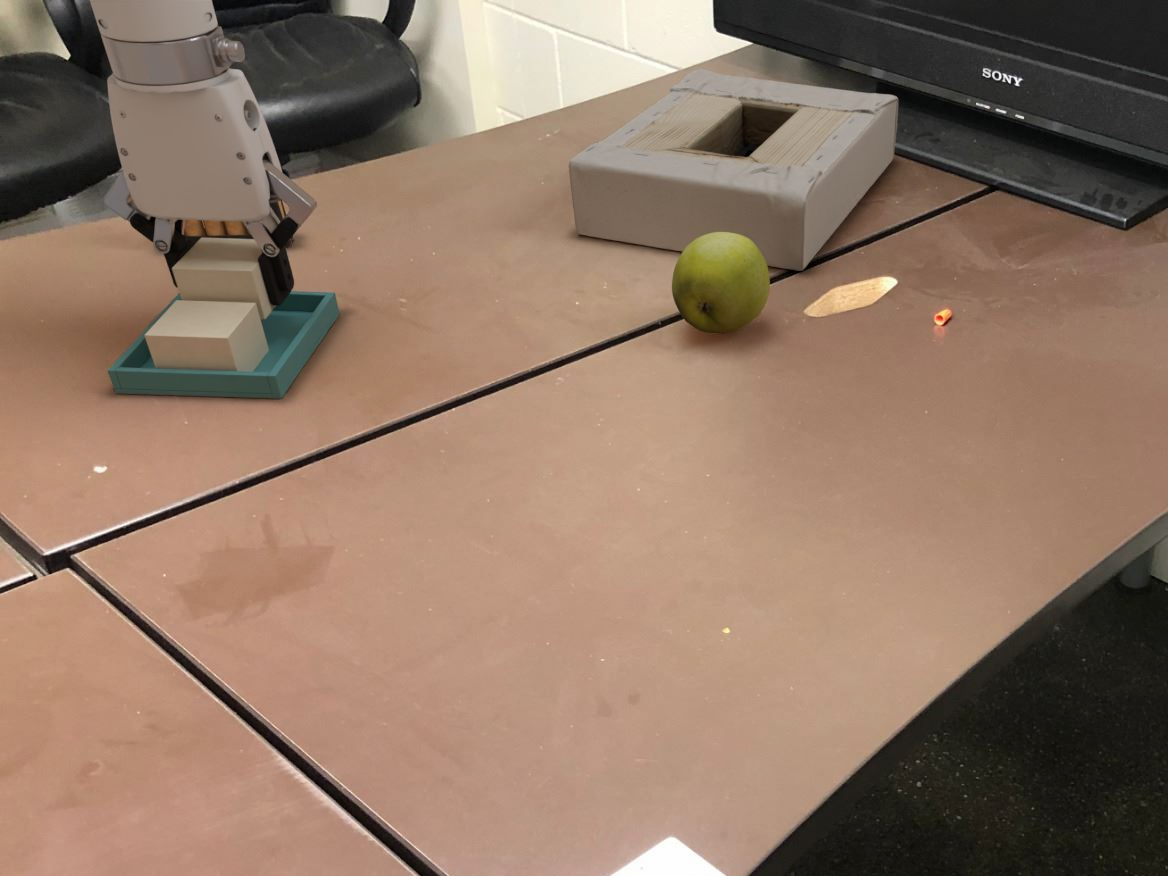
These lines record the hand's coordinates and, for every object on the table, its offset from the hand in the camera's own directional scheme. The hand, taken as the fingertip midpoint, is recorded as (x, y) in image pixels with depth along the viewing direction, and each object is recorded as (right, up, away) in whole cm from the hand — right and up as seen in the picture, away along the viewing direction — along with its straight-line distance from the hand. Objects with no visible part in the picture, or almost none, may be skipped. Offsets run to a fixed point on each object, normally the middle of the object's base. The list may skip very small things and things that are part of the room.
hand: (238, 295), depth 106 cm
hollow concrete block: (+37, +18, +30) cm, 51 cm away
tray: (0, -5, 0) cm, 5 cm away
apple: (+38, -1, +7) cm, 38 cm away
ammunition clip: (-8, +9, +15) cm, 19 cm away
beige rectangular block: (0, 0, 0) cm, 1 cm away
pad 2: (0, -6, -3) cm, 7 cm away
